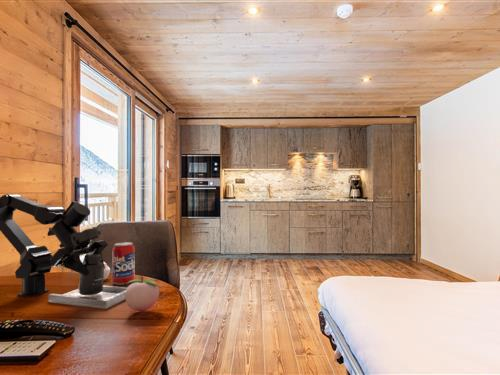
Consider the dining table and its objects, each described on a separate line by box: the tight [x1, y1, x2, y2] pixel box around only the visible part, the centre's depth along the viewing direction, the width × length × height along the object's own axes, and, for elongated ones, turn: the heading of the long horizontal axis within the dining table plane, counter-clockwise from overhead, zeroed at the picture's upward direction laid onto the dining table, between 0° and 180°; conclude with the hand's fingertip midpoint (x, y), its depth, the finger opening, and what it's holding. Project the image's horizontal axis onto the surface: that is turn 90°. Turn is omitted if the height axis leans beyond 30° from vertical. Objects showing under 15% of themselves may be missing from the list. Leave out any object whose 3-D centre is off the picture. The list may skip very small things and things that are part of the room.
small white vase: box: [103, 261, 111, 281], centre depth 117 cm, size 6×6×7 cm
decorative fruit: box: [125, 276, 160, 313], centre depth 83 cm, size 9×8×10 cm
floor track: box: [48, 283, 128, 310], centre depth 95 cm, size 22×12×2 cm, turn 74°
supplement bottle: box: [79, 254, 104, 295], centre depth 95 cm, size 7×7×12 cm
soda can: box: [111, 242, 136, 286], centre depth 112 cm, size 8×8×15 cm
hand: (95, 271), depth 95 cm, fingers closed on supplement bottle, 7 cm apart
